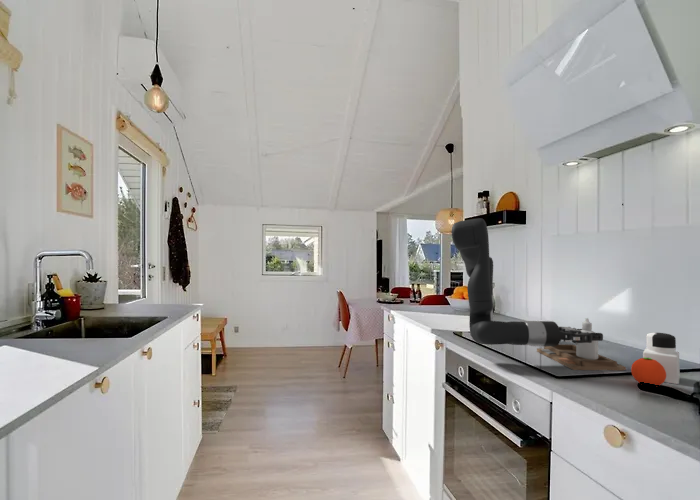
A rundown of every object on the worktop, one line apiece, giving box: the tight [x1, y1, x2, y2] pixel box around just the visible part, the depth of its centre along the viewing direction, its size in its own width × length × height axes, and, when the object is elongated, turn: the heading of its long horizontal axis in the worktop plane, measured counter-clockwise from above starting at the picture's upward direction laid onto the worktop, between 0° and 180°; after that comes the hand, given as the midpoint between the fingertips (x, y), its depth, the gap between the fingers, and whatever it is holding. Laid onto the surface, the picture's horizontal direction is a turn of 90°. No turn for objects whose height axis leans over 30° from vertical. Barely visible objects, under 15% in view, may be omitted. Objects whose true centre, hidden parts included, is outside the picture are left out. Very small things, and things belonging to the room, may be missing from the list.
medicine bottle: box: [642, 332, 681, 385], centre depth 100 cm, size 7×7×12 cm
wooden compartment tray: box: [536, 343, 627, 371], centre depth 118 cm, size 22×15×2 cm
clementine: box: [630, 357, 666, 386], centre depth 94 cm, size 8×7×7 cm
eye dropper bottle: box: [575, 317, 599, 360], centre depth 113 cm, size 4×6×12 cm
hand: (595, 334), depth 113 cm, fingers closed on eye dropper bottle, 5 cm apart
